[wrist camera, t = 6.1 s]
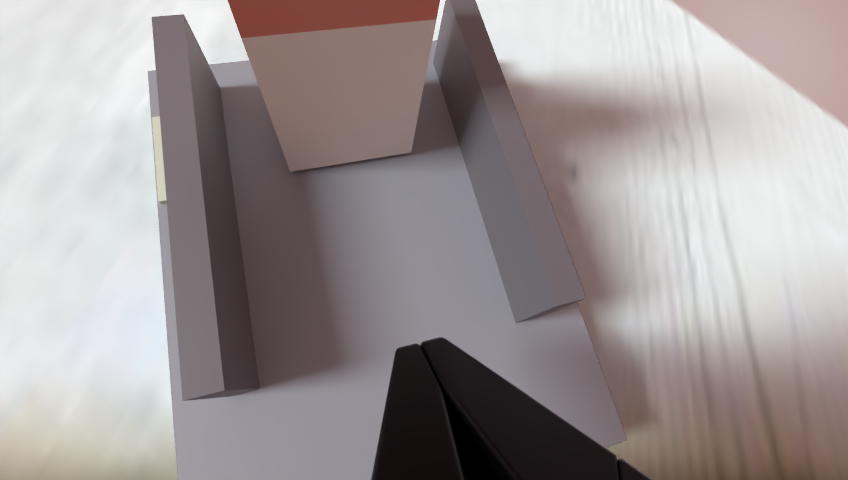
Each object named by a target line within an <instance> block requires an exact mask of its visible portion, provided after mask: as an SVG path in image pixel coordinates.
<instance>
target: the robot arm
mask: <svg viewBox="0 0 848 480" xmlns="http://www.w3.org/2000/svg"><path fill="white" fill-rule="evenodd" d="M371 480H653V479H651V478H649V477H648V476H647V475H645V474H644V473H642V472H641V471H639V470H638V469H636V468H635V467H633V466H632V465H630V464H629V463H627V462H626V461H625V460H623V459H619V460H618V461H617V456H616V455H615V454H614V453H612V452H611V451H609V450H608V449H607V448H605V447H604V446H602V445H601V444H599V443H598V442H596V441H595V440H593V439H592V438H590V437H589V436H588V435H586V434H585V433H583V432H582V431H580V430H579V429H577V428H576V427H574V426H573V425H571V424H570V423H568V422H567V421H566V420H564V419H563V418H561V417H560V416H558V415H557V414H555V413H554V412H552V411H551V410H549V409H548V408H547V407H545V406H544V405H542V404H541V403H539V402H538V401H536V400H535V399H533V398H532V397H530V396H529V395H527V394H526V393H525V392H523V391H522V390H520V389H519V388H517V387H516V386H514V385H513V384H511V383H510V382H508V381H507V380H505V379H504V378H503V377H501V376H500V375H498V374H497V373H495V372H494V371H492V370H491V369H489V368H488V367H486V366H485V365H484V364H482V363H481V362H479V361H478V360H476V359H475V358H473V357H472V356H470V355H469V354H467V353H466V352H464V351H463V350H462V349H460V348H459V347H457V346H456V345H454V344H453V343H451V342H450V341H448V340H447V339H445V338H443V337H438V338H434V339H430V340H426V341H423V342H422V343H421V345H419V344H417V343H414V344H410V345H406V346H403V347H399V348H397V349H396V351H395V356H394V361H393V367H392V372H391V377H390V382H389V388H388V393H387V398H386V403H385V409H384V414H383V419H382V424H381V430H380V435H379V440H378V445H377V451H376V456H375V461H374V466H373V472H372V477H371Z"/></svg>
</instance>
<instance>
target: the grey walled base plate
mask: <svg viewBox="0 0 848 480" xmlns="http://www.w3.org/2000/svg"><path fill="white" fill-rule="evenodd" d="M152 26H153V38H154V51H155V63H156V70H155V71H148V80H149V94H150V107H151V121H152V135H153V148H154V162H155V176H156V190H157V203H158V217H159V231H160V244H161V258H162V272H163V285H164V299H165V313H166V326H167V340H168V354H169V367H170V381H171V395H172V408H173V422H174V436H175V449H176V463H177V477H178V480H371V477H372V472H373V466H374V461H375V456H376V451H377V445H378V440H379V435H380V430H381V424H382V419H383V414H384V409H385V403H386V398H387V393H388V388H389V382H390V377H391V372H392V367H393V361H394V356H395V351H396V349H397V348H399V347H403V346H406V345H410V344H414V343H417V344H419V345H421V343H422V342H423V341H426V340H430V339H434V338H438V337H443V338H445V339H447V340H448V341H450V342H451V343H453V344H454V345H456V346H457V347H459V348H460V349H462V350H463V351H464V352H466V353H467V354H469V355H470V356H472V357H473V358H475V359H476V360H478V361H479V362H481V363H482V364H484V365H485V366H486V367H488V368H489V369H491V370H492V371H494V372H495V373H497V374H498V375H500V376H501V377H503V378H504V379H505V380H507V381H508V382H510V383H511V384H513V385H514V386H516V387H517V388H519V389H520V390H522V391H523V392H525V393H526V394H527V395H529V396H530V397H532V398H533V399H535V400H536V401H538V402H539V403H541V404H542V405H544V406H545V407H547V408H548V409H549V410H551V411H552V412H554V413H555V414H557V415H558V416H560V417H561V418H563V419H564V420H566V421H567V422H568V423H570V424H571V425H573V426H574V427H576V428H577V429H579V430H580V431H582V432H583V433H585V434H586V435H588V436H589V437H590V438H592V439H593V440H595V441H596V442H598V443H599V444H601V445H602V446H604V447H608V446H611V445H614V444H617V443H620V442H623V441H626V440H627V437H626V435H625V432H624V429H623V426H622V424H621V421H620V418H619V415H618V413H617V410H616V407H615V404H614V402H613V399H612V396H611V393H610V391H609V388H608V385H607V383H606V380H605V377H604V374H603V372H602V369H601V366H600V363H599V361H598V358H597V355H596V352H595V350H594V347H593V344H592V341H591V339H590V336H589V333H588V330H587V328H586V325H585V322H584V320H583V317H582V314H581V311H580V309H579V306H578V303H577V302H578V301H581V300H583V299H586V296H585V294H584V291H583V288H582V286H581V283H580V280H579V278H578V275H577V272H576V270H575V267H574V264H573V261H572V259H571V256H570V253H569V251H568V248H567V245H566V243H565V240H564V237H563V235H562V232H561V229H560V227H559V224H558V221H557V219H556V216H555V213H554V210H553V208H552V205H551V202H550V200H549V197H548V194H547V192H546V189H545V186H544V184H543V181H542V178H541V176H540V173H539V170H538V168H537V165H536V162H535V159H534V157H533V154H532V151H531V149H530V146H529V143H528V141H527V138H526V135H525V133H524V130H523V127H522V125H521V122H520V119H519V117H518V114H517V111H516V108H515V106H514V103H513V100H512V98H511V95H510V92H509V90H508V87H507V84H506V82H505V79H504V76H503V74H502V71H501V68H500V66H499V63H498V60H497V57H496V55H495V52H494V49H493V47H492V44H491V41H490V39H489V36H488V33H487V31H486V28H485V25H484V23H483V20H482V17H481V15H480V12H479V9H478V6H477V4H476V1H475V0H446V1H445V6H444V11H443V16H442V21H441V26H440V31H439V36H438V40H436V41H432V45H431V50H430V55H429V61H428V66H427V71H426V76H425V82H424V87H423V92H422V98H421V103H420V108H419V114H418V119H417V124H416V130H415V135H414V140H413V145H412V151H411V153H405V154H399V155H392V156H386V157H380V158H374V159H368V160H361V161H355V162H349V163H343V164H336V165H330V166H324V167H318V168H311V169H305V170H299V171H293V172H290V170H289V167H288V164H287V162H286V159H285V156H284V153H283V151H282V148H281V145H280V142H279V140H278V137H277V134H276V131H275V129H274V126H273V123H272V121H271V118H270V115H269V112H268V110H267V107H266V104H265V101H264V99H263V96H262V93H261V90H260V88H259V85H258V82H257V79H256V77H255V74H254V71H253V68H252V66H251V63H250V60H249V61H239V62H230V63H221V64H211V65H209V64H208V62H207V60H206V58H205V56H204V54H203V52H202V50H201V48H200V46H199V44H198V42H197V40H196V38H195V36H194V34H193V32H192V30H191V28H190V26H189V24H188V22H187V20H186V18H185V16H184V14H183V15H171V16H159V17H152Z"/></svg>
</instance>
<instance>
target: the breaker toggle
mask: <svg viewBox="0 0 848 480" xmlns="http://www.w3.org/2000/svg"><path fill="white" fill-rule="evenodd" d="M228 2H229V5H230V8H231V11H232V13H233V16H234V19H235V22H236V24H237V27H238V30H239V33H240V35H241V38H242V41H243V44H244V46H245V49H246V52H247V55H248V57H249V60H250V63H251V66H252V68H253V71H254V74H255V77H256V79H257V82H258V85H259V88H260V90H261V93H262V96H263V99H264V101H265V104H266V107H267V110H268V112H269V115H270V118H271V121H272V123H273V126H274V129H275V131H276V134H277V137H278V140H279V142H280V145H281V148H282V151H283V153H284V156H285V159H286V162H287V164H288V167H289V170H290V172H293V171H299V170H305V169H311V168H318V167H324V166H330V165H336V164H343V163H349V162H355V161H361V160H368V159H374V158H380V157H386V156H392V155H399V154H405V153H411V151H412V145H413V140H414V135H415V130H416V124H417V119H418V114H419V108H420V103H421V98H422V92H423V87H424V82H425V76H426V71H427V66H428V61H429V55H430V50H431V45H432V39H433V34H434V29H435V23H436V18H437V13H438V7H439V2H440V0H228Z"/></svg>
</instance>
